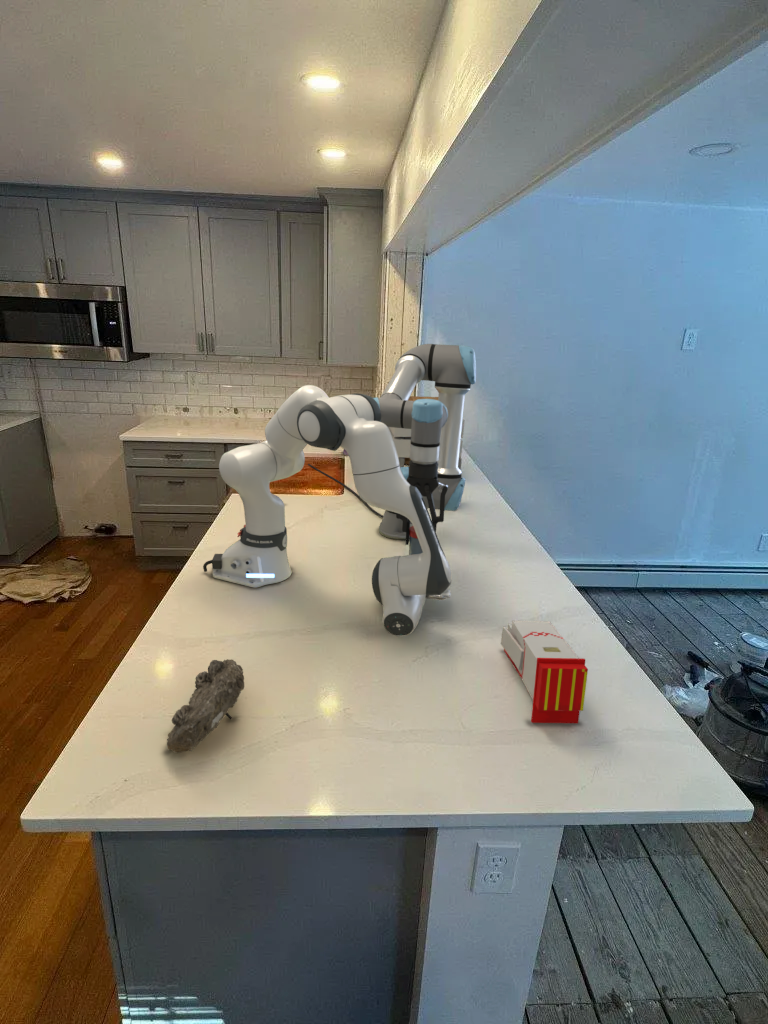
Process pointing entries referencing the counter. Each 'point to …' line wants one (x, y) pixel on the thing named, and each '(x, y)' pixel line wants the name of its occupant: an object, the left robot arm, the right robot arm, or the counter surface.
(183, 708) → the fossil
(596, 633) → the counter surface
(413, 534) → the lid
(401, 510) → the left robot arm
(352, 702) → the counter surface
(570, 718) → the toy
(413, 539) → the grey cylinder
